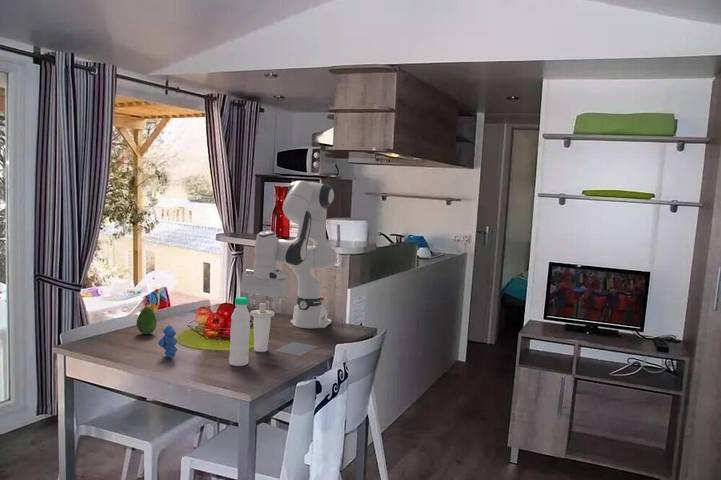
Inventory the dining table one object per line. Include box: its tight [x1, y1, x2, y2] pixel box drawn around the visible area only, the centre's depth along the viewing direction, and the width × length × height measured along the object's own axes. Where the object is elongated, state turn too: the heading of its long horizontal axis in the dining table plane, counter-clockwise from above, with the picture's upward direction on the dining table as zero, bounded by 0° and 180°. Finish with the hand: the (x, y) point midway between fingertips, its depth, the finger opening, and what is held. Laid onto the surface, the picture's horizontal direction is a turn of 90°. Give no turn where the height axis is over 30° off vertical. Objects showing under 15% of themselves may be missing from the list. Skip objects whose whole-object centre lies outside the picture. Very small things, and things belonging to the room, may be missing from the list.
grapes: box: [157, 324, 178, 360], centre depth 205 cm, size 12×7×12 cm, turn 35°
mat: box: [273, 341, 318, 357], centre depth 227 cm, size 16×12×1 cm
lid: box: [249, 302, 275, 318], centre depth 220 cm, size 10×10×4 cm
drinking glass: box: [253, 317, 272, 353], centre depth 221 cm, size 7×7×15 cm
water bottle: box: [228, 296, 252, 367], centre depth 203 cm, size 7×7×25 cm
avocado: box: [136, 306, 157, 336], centre depth 235 cm, size 8×8×12 cm
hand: (262, 306), depth 220 cm, fingers open, 8 cm apart
